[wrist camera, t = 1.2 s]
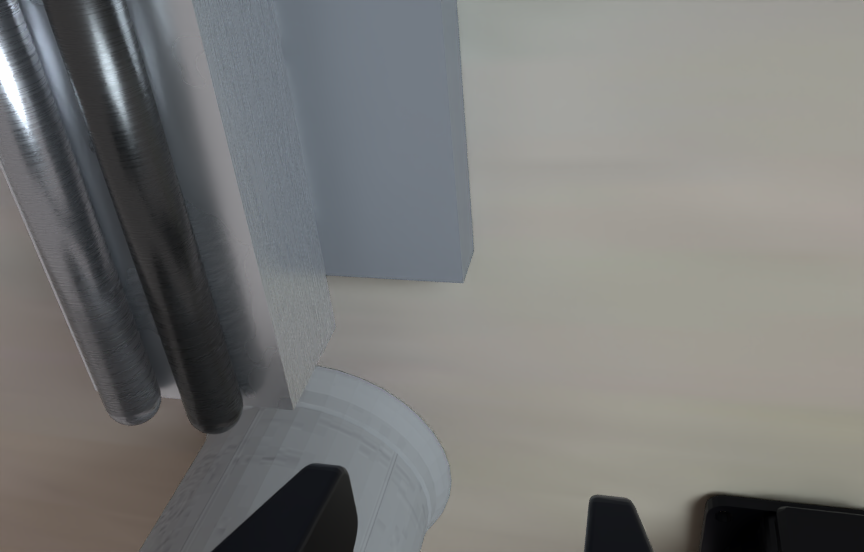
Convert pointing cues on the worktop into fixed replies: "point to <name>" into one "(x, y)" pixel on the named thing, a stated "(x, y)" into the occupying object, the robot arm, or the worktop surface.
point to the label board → (382, 134)
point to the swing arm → (167, 199)
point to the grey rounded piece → (315, 443)
